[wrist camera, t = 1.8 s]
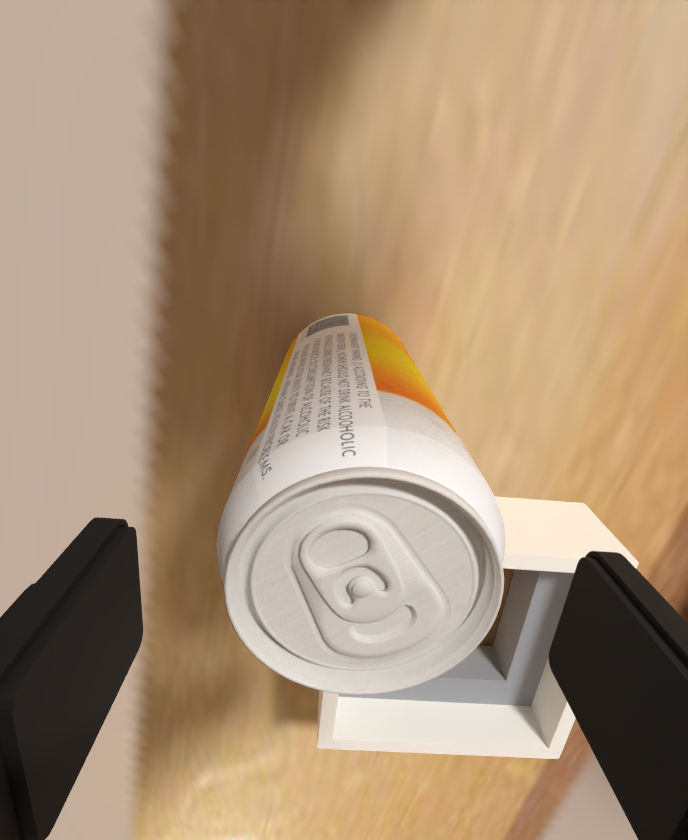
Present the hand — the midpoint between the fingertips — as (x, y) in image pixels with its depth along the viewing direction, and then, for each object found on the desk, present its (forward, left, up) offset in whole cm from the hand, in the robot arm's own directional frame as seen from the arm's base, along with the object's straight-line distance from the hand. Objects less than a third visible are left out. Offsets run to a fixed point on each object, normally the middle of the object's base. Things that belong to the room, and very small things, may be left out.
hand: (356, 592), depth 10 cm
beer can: (-1, 0, -14) cm, 14 cm away
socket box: (+12, +7, -14) cm, 20 cm away
